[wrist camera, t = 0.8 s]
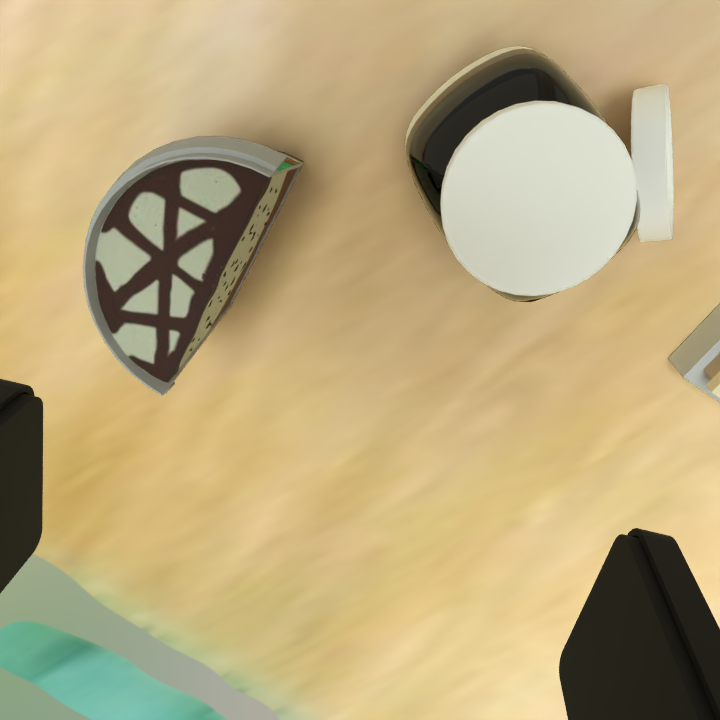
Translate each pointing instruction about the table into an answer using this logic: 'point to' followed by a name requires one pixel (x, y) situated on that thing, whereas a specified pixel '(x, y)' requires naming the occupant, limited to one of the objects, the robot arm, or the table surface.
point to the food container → (179, 247)
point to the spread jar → (538, 173)
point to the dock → (701, 356)
